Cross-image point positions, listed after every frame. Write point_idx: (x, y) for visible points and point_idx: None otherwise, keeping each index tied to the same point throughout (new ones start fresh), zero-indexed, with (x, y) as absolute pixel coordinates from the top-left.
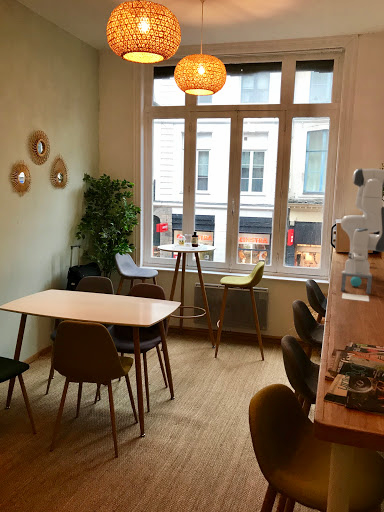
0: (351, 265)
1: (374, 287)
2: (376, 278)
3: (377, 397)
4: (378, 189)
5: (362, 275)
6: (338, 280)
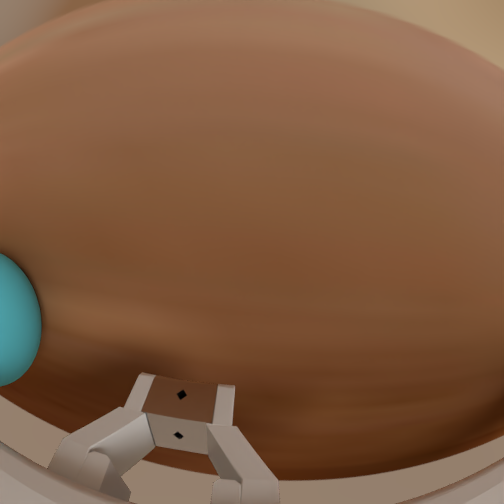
0: None
1: None
2: (489, 434)
3: None
4: None
5: None
6: (378, 76)
